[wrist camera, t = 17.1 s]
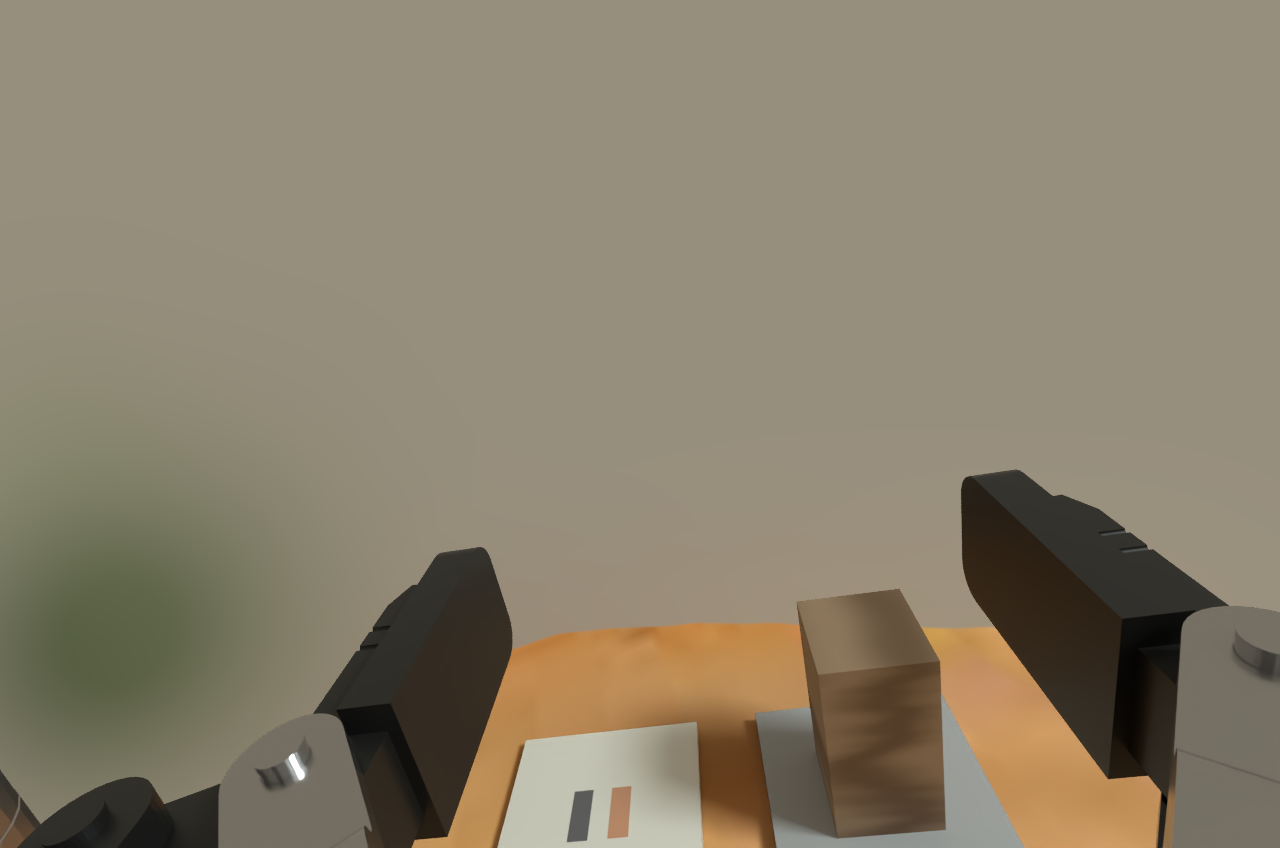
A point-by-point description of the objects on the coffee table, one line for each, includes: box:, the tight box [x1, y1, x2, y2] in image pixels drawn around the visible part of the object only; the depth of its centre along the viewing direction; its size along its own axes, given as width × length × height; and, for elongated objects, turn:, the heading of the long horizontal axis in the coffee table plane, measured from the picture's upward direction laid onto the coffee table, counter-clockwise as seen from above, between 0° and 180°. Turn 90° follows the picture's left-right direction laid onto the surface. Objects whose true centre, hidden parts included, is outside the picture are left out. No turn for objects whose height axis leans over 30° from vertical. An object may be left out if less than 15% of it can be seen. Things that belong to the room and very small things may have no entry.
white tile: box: [497, 722, 703, 848], centre depth 37 cm, size 12×12×1 cm
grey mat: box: [755, 693, 1024, 848], centre depth 35 cm, size 12×12×1 cm
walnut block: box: [797, 589, 946, 839], centre depth 33 cm, size 6×6×11 cm
